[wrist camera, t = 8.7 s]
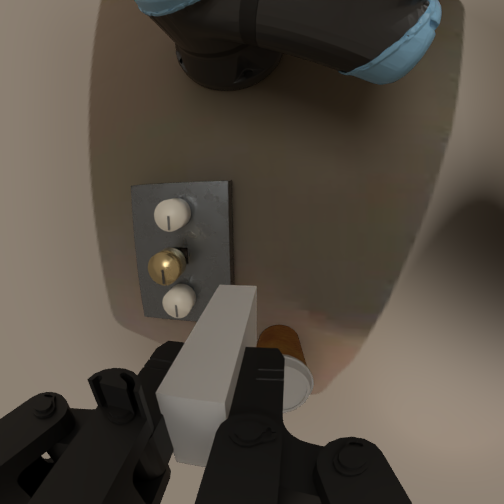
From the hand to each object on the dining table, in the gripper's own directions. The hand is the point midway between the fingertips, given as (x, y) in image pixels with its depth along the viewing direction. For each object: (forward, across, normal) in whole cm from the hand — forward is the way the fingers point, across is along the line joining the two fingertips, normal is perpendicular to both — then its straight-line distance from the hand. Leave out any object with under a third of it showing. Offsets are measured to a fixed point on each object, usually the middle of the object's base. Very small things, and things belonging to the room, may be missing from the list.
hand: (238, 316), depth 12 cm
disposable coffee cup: (+30, +1, -20) cm, 36 cm away
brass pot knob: (+26, -12, -5) cm, 29 cm away
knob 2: (+29, -12, -11) cm, 34 cm away
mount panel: (+29, -12, -5) cm, 32 cm away
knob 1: (+29, -12, +1) cm, 32 cm away
